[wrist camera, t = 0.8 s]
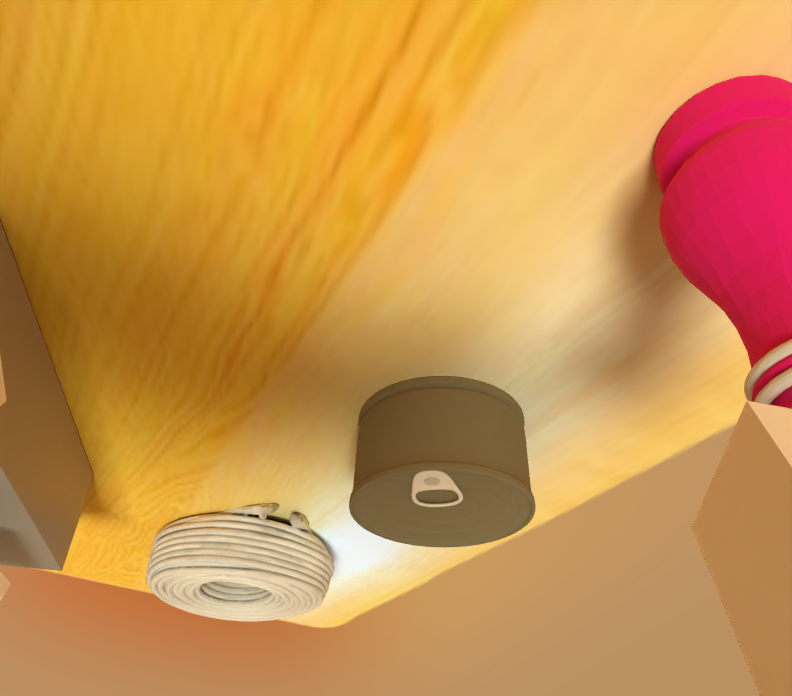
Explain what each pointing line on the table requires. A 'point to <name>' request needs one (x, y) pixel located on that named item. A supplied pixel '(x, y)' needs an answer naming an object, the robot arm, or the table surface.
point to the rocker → (3, 585)
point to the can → (441, 464)
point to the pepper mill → (736, 215)
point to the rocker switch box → (34, 438)
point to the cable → (240, 565)
